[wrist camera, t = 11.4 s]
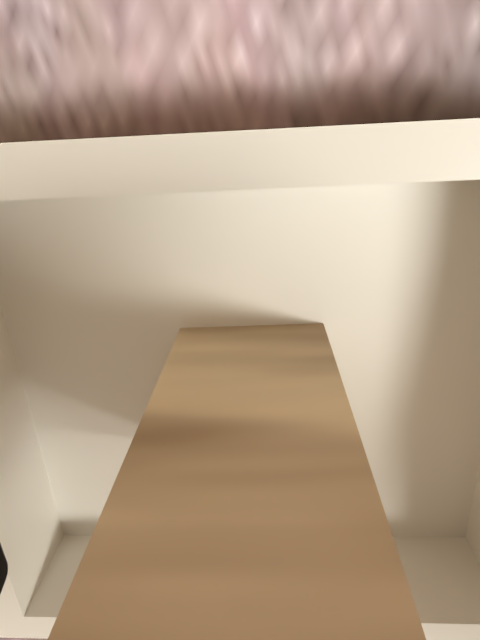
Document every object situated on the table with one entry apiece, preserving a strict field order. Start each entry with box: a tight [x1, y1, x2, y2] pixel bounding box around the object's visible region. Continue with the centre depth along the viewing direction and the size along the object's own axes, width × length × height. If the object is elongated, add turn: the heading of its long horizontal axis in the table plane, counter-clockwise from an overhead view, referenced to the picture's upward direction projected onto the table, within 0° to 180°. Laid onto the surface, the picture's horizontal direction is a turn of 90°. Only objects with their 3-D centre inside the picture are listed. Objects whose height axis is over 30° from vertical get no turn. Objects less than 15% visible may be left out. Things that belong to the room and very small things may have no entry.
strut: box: [47, 323, 426, 640], centre depth 9 cm, size 4×4×9 cm
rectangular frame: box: [0, 118, 480, 640], centre depth 12 cm, size 16×14×4 cm
